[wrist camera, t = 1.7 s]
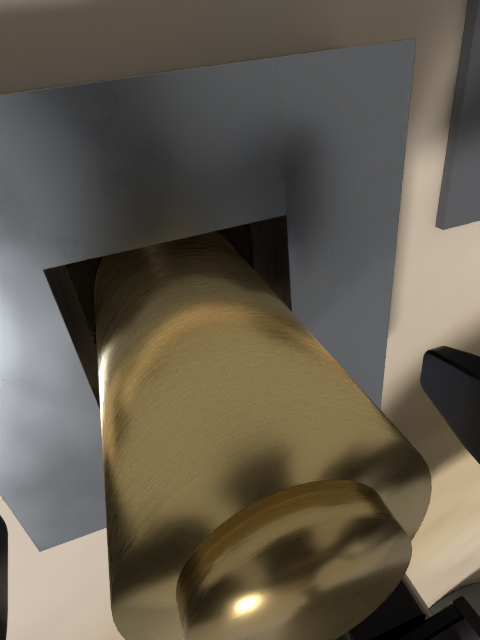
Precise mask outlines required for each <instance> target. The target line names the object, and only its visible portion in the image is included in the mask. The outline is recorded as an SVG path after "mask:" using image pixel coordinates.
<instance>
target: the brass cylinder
mask: <svg viewBox="0 0 480 640" xmlns="http://www.w3.org/2000/svg"><path fill="white" fill-rule="evenodd" d="M94 303H95V322H96V340H97V358H98V377H99V395H100V414H101V432H102V450H103V469H104V487H105V506H106V524H107V543H108V561H109V579H110V598H111V610H112V616H113V620H114V623H115V625H116V627H117V630H118V631H119V632H120V634H121V635H122V636H123V637H124V638H125V640H336V639H337V638H339V637H340V636H342V635H343V634H345V633H346V632H348V631H349V630H351V629H352V628H354V627H355V626H356V625H358V624H359V623H360V622H362V621H363V620H364V619H365V618H367V617H368V616H369V615H370V614H371V613H372V612H373V611H375V610H376V609H377V608H378V607H379V606H380V605H381V604H382V603H383V602H384V601H385V600H386V599H387V598H388V596H389V595H390V594H391V593H392V592H393V591H394V589H395V588H396V587H397V585H398V584H399V583H400V581H401V579H402V578H403V576H404V574H405V572H406V570H407V568H408V566H409V563H410V559H411V554H412V546H411V540H412V539H413V538H414V536H415V534H416V532H417V531H418V529H419V527H420V526H421V523H422V521H423V519H424V517H425V515H426V512H427V509H428V505H429V502H430V496H431V489H432V487H431V475H430V472H429V469H428V466H427V464H426V462H425V461H424V459H423V457H422V456H421V455H420V453H419V452H418V451H417V450H416V449H415V448H414V447H413V446H412V445H411V443H410V442H409V441H408V440H407V439H406V438H405V437H404V436H403V435H402V434H401V432H400V431H399V430H398V429H397V428H396V427H395V426H394V425H393V424H392V422H391V421H390V420H389V419H388V418H387V417H386V416H385V415H384V414H383V412H382V411H381V410H380V409H379V408H378V407H377V406H376V405H375V404H374V403H373V401H372V400H371V399H370V398H369V397H368V396H367V395H366V394H365V393H364V391H363V390H362V389H361V388H360V387H359V386H358V385H357V384H356V383H355V381H354V380H353V379H352V378H351V377H350V376H349V375H348V374H347V373H346V372H345V370H344V369H343V368H342V367H341V366H340V365H339V364H338V363H337V362H336V360H335V359H334V358H333V357H332V356H331V355H330V354H329V353H328V352H327V350H326V349H325V348H324V347H323V346H322V345H321V344H320V343H319V342H318V341H317V339H316V338H315V337H314V336H313V335H312V334H311V333H310V332H309V331H308V329H307V328H306V327H305V326H304V325H303V324H302V323H301V322H300V321H299V320H298V318H297V317H296V316H295V315H294V314H293V313H292V312H291V311H290V310H289V308H288V307H287V306H286V305H285V304H284V303H283V302H282V301H281V300H280V298H279V297H278V296H277V295H276V294H275V293H274V292H273V291H272V290H271V289H270V287H269V286H268V285H267V284H266V283H265V282H264V281H263V280H262V279H261V277H260V276H259V275H258V274H257V273H256V272H255V271H254V270H253V269H252V267H251V266H250V265H249V264H248V263H247V262H246V261H245V260H244V259H243V258H242V256H241V255H240V254H239V253H238V252H237V251H236V250H235V249H234V248H233V246H232V245H231V244H230V243H229V242H228V241H227V240H226V239H225V238H224V237H223V236H222V235H221V234H219V233H218V232H217V231H213V232H208V233H204V234H199V235H195V236H190V237H186V238H181V239H177V240H173V241H168V242H164V243H159V244H155V245H150V246H146V247H141V248H137V249H132V250H128V251H124V252H119V253H115V254H110V255H106V256H104V258H103V259H102V261H101V263H100V265H99V268H98V271H97V274H96V278H95V283H94Z"/></svg>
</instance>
